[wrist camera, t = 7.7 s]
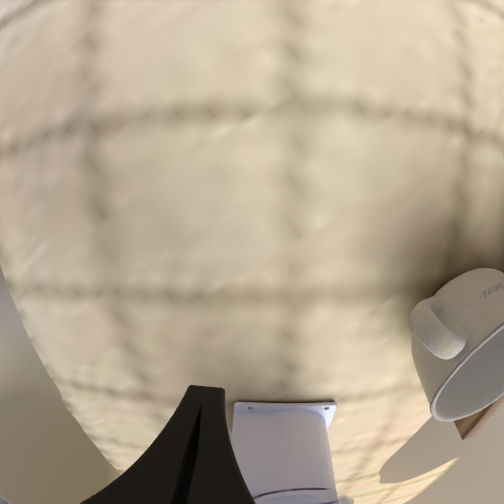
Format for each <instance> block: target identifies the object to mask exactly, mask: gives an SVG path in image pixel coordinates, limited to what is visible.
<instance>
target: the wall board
mask: <svg viewBox="0 0 504 504" xmlns="http://www.w3.org/2000/svg"><path fill="white" fill-rule="evenodd" d="M503 402H504V395H502V396H501V397H500V398H498V399H497V400H496V401H495V402H493V403H492V404H490V405H489V406H487V407H485V408H484V409H482V410H480V411H478V412H476V413H474V414H472V415H470V416H467V417H465V418H462V419H458V420H454V422H455V425H456V427H457V429H458V431H459V433H460V435H461V438H462V440H464V439H467V438H470V437H472V436H475V435H476V434H477V433H478V432H479V431H480V429H481V428H482V427H483V426H484V425H485V424H486V423H487V422H488V420H489V419H490V418H491V417H492V416H493V414H494V413H495V412H496V411H497V409H498V408H499V407H500V406H501V404H502V403H503Z"/></svg>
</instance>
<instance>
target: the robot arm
mask: <svg viewBox="0 0 504 504" xmlns="http://www.w3.org/2000/svg"><path fill="white" fill-rule="evenodd" d="M336 409H337V404H336V403H335V402H325V403H252V402H236V403H234V413H233V425H232V432H229V433H228V428H227V423H226V417H225V390H224V389H223V388H217V387H206V386H196V385H190V386H188V389H187V391H186V393H185V395H184V397H183V399H182V400H181V402H180V404H179V406H178V407H177V409H176V411H175V412H174V414H173V415H172V417H171V418H170V420H169V421H168V423H167V424H166V426H165V427H164V429H163V430H162V431H161V433H160V434H159V435H158V437H157V438H156V439H155V440H154V442H153V443H152V444H151V445H150V447H149V448H148V449H147V450H146V451H145V452H144V453H143V455H142V456H141V457H140V458H139V459H138V460H137V461H136V462H135V463H134V464H133V465H132V466H131V467H130V468H128V469H127V470H126V471H125V472H124V473H123V474H122V475H121V476H119V477H118V478H117V479H116V480H114V481H113V482H112V483H110V484H109V485H108V486H107V487H105V488H104V489H103V490H101V491H99V492H98V493H96V494H95V495H93V496H91V497H90V498H88V499H86V500H85V501H83V502H81V503H80V504H354V502H353V499H351V498H349V497H347V495H343V496H340V499H339V497H338V494H337V491H336V485H335V478H334V472H333V465H332V458H331V452H330V446H329V440H328V433H327V429H328V427H329V425H330V422H331V420H332V418H333V416H334V413H335V411H336ZM0 504H12V503H10V502H9V501H7V500H5V499H4V498H3V497H1V496H0Z"/></svg>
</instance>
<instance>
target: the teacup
mask: <svg viewBox="0 0 504 504" xmlns="http://www.w3.org/2000/svg"><path fill="white" fill-rule="evenodd" d="M409 322H410V326H411V328H412V330H413V332H414V333H413V338H412V356H413V360H414V364H415V367H416V370H417V373H418V376H419V378H420V381H421V384H422V386H423V389H424V391H425V394H426V396H427V399H428V401H429V404H430V412H431V414H432V416H433V417H434V418H435V419H437V420H439V421H454V420H458V419H462V418H465V417H467V416H470V415H472V414H474V413H476V412H478V411H480V410H482V409H484V408H485V407H487V406H489V405H490V404H492V403H493V402H495V401H496V400H497V399H498V398H500V397H501V396H502V395H504V273H503V272H501V271H499V270H496V269H492V268H478V269H474V270H471V271H468V272H465V273H463V274H461V275H460V276H458V277H456V278H454V279H452V280H451V281H449V282H448V283H446V284H445V285H444V286H443V287H442V288H440V289H439V290H438V291H437V292H436V294H435V295H434V296H433V297H429V298H428V299H424V300H422V301H420V302H419V303H418V304H417V305H416V306H415V308H414V309H413V311H412V312H411V314H410V318H409Z"/></svg>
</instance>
